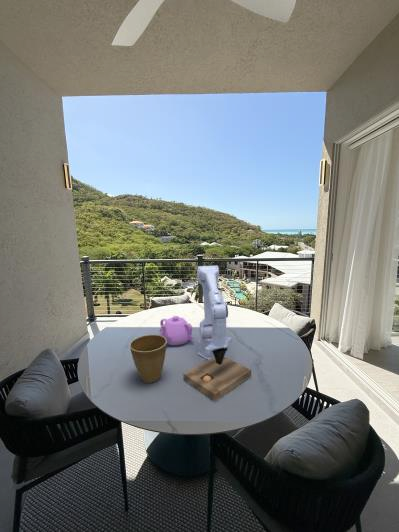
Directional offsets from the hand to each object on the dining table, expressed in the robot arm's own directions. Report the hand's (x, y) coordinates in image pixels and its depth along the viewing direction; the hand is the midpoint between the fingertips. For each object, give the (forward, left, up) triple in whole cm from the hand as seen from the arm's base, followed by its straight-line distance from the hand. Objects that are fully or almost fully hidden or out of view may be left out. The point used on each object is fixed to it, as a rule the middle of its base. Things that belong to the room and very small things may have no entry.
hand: (219, 363), depth 106 cm
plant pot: (-20, -21, -7) cm, 30 cm away
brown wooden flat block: (0, -1, -6) cm, 6 cm away
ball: (0, -7, -5) cm, 8 cm away
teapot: (-39, +6, -7) cm, 40 cm away
